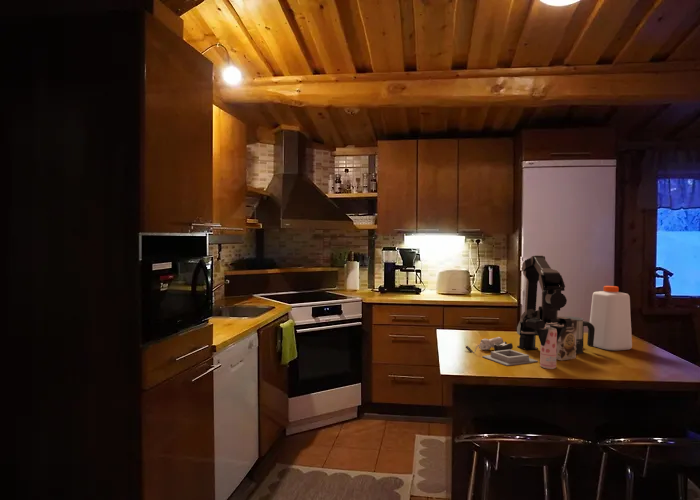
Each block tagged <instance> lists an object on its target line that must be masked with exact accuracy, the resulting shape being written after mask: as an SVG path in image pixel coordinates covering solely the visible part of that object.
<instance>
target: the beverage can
mask: <svg viewBox="0 0 700 500" xmlns="http://www.w3.org/2000/svg"><path fill="white" fill-rule="evenodd" d="M546 329H549V330H548V334H547V338H546V342H545V345H544V346H542V345H541V344H540V351H539V352H540V355H539V356H540V358H539V366H540V367H541V368H542V369H548V370H554V369H556V368H557V359H556V351H557V329H556V328H552V327H550V326H546Z"/></svg>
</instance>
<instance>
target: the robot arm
mask: <svg viewBox="0 0 700 500" xmlns="http://www.w3.org/2000/svg"><path fill="white" fill-rule="evenodd" d="M521 271H522V274H523V276H524V278H525V280H526V285H525V303H524V312H523V313H522V315H521V316H520V320H519V321H518V323H517V327H516V334H518V335H519V338H518V339H519V345H517V346H516V348H520V349H523V350H527V351H531V350H538V349H539V347H538V346H536V338H537V337H538V340H539V342H540V346H541V345H542V346H544V345H545V342H546V338H547V334H548V330H549V329H546V327H547V326H549V327H552V328H556V329H557V341H558V339H559V338H560V336H561V334H562V333H563V331H564V330H565V329H566V328H567V327H564V325H563V324H565V325H566V326H572V320H571V319H570V318H566V317H567V316H559V315H558V312H560V311H561V309H562V308H564V307H565V306H566V305H567V301H568V299H567V297H566V295H564V294H563V293H562V291H563V292H564V291H565V288H566V284H565V282H564V279H563V276H562V275H561V273H560V272H559V271H558V270H556V269H553V268H552V267H551V266H550V264H549V263H548V261H547V260H546V257H545V256H544V255H532V256H531V257H530V258H527V259H524V261H523V263H522V264H521ZM538 283H539V286H540V289H541V305H540V306H538V310H537V296H538ZM551 322H552V323H551ZM536 336H537V337H536Z"/></svg>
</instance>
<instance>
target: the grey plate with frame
mask: <svg viewBox="0 0 700 500" xmlns="http://www.w3.org/2000/svg"><path fill="white" fill-rule="evenodd" d="M481 357H482V358H484V359H487V360H489V361H491V362H494V363H498V364H499V365H503V366H506V367H509V366H517V365H518V366H519V365H524V364H525V365H526V364H532V363H538V362H539V361H538V360H537V359H534V358H530V355H529V354H526V353H523V352H520V351H517V350H513V349H509V350H501V351H495V350H494V351H490V354H488V355H482V356H481Z"/></svg>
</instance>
